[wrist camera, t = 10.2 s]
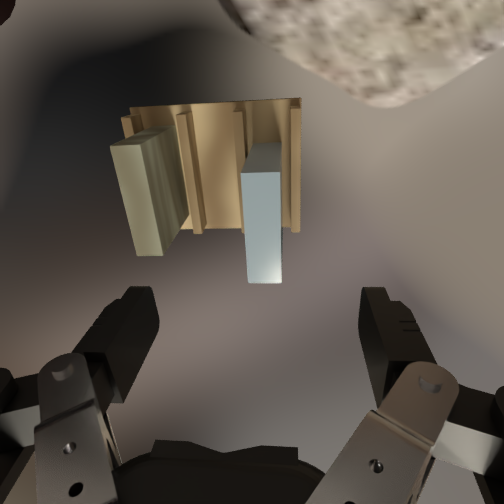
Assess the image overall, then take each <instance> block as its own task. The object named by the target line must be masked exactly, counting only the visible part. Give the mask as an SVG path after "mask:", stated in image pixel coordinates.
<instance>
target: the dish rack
mask: <svg viewBox="0 0 504 504" xmlns="http://www.w3.org/2000/svg"><path fill="white" fill-rule="evenodd" d="M130 112H131V115H129V116H126V117H122V118H121V120H122V125H123V129H124V133H125V138H126V139H124V140H122V141H120V142H117V143H115V144H113V145H111V146H110V149H111V153H112V157H113V161H114V165H115V169H116V173H117V177H118V181H119V185H120V189H121V193H122V197H123V201H124V205H125V209H126V213H127V217H128V221H129V225H130V229H131V233H132V237H133V241H134V245H135V249H136V253H137V256H163V255H164V254H165V252H166V250H167V249H168V247H169V246H170V244H171V243H172V241H173V239H174V238H175V236H176V235H177V233H178V232H179V230H180V229H193V231H194V234H202V233H203V231H204V229H208V228H242V233H245V230H244V216H243V201H242V187H241V171H242V168H243V166H244V164H245V161H246V159H247V156H248V154H249V152H250V149H251V147H252V144H253V143H273V142H282V214H283V227H291V232H300V194H301V190H300V188H301V182H300V181H301V98H285V99H267V100H249V101H232V102H214V103H197V104H178V105H161V106H142V107H131V108H130Z"/></svg>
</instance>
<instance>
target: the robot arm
mask: <svg viewBox="0 0 504 504" xmlns="http://www.w3.org/2000/svg"><path fill="white" fill-rule="evenodd" d="M158 330H159V315H158V311H157V307H156V302H155V298H154V294H153V291H152V288H151V287H150V286H130V287H129V288H128V289H127V291H126V292H125V293H124V295H123V296H122V298H121V299H116V300H114V301H113V302H112V303H110V304H109V305H108V306H106V307H105V308H104V310H103V311H102V312H101V314H100V315H99V317H98V318H97V319H96V320H95V322H94V323H93V326H91V327H90V329H89V330H88V331H87V332H86V334H85V335H84V336H83V338H82V339H81V340H80V342H79V343H78V344H77V346H76V347H75V348H74V350H73V351H72V352H71V353H67V354H64V355H60V356H58V357H56V358H54V359H52V360H51V361H49V362H48V363H47V364H46V365H45V366H44V367H43V368H42V369H41V370H40V372H39V373H37V374H33V375H29V376H24V377H20V378H16V379H14V378H13V376H12V374H11V372H10V371H9V370H8V369H6V368H0V504H3V502H4V501H5V499H6V497H7V496H8V494H9V492H10V491H11V489H12V487H13V486H14V484H15V482H16V481H17V479H18V477H19V476H20V474H21V472H22V471H23V469H24V467H25V466H26V464H27V462H28V461H29V459H30V457H31V456H32V454H33V452H34V451H35V464H36V465H35V466H36V485H37V504H417V502H418V500H419V497H420V495H421V493H422V491H423V488H424V486H425V484H426V482H427V479H428V477H429V475H430V473H431V470H432V468H433V466H434V464H435V461H436V459H440V460H443V461H446V462H449V463H451V464H454V465H457V466H460V467H463V468H465V469H468V470H471V471H473V473H474V476H475V479H476V481H477V484H478V486H479V489H480V492H481V494H482V497H483V499H484V502H485V504H504V386H502V387H500V388H499V389H498V390H497V391H496V394H495V395H493V394H489V393H485V392H482V391H478V390H475V389H471V388H468V387H465V386H463V385H460V384H458V382H457V380H456V379H455V377H454V376H453V375H452V374H451V373H450V372H449V371H447V370H446V369H444V368H443V367H441V366H439V365H437V363H436V361H435V359H434V356H433V354H432V352H431V350H430V348H429V346H428V344H427V342H426V340H425V338H424V336H423V334H422V332H420V328H419V326H418V324H417V323H416V320H415V318H414V316H413V314H412V312H411V310H410V309H409V308H407V307H406V306H405V305H404V304H403V303H402V302H401V301H390V299H389V296H388V294H387V292H386V289H385V288H384V287H363V288H362V291H361V299H360V309H359V318H358V330H359V338H360V342H361V346H362V350H363V353H364V358H365V362H366V365H367V369H368V373H369V377H370V381H371V385H372V389H373V393H374V397H375V401H376V405H377V409H378V410H377V411H376V412H375V411H374V410H370V411H369V412H368V413H367V414H366V416H365V417H364V419H363V420H362V422H361V423H360V425H359V426H358V427H357V429H356V430H355V432H354V433H353V435H352V436H351V438H350V439H349V441H348V443H347V444H346V445H345V447H344V448H343V450H342V451H341V453H340V454H339V455H338V457H337V458H336V460H335V461H334V463H333V464H332V466H331V467H330V468H329V470H328V471H327V473H326V474H325V473H324V472H323V471H321V470H319V469H318V468H316V467H315V466H313V465H311V464H309V463H306V462H304V461H301V460H298V448H297V447H280V446H279V447H278V446H257V447H252V448H247V449H242V450H237V451H232V452H227V453H221V452H218V451H215V450H212V449H209V448H206V447H203V446H200V445H198V444H195V443H192V442H188V441H169V440H155V442H154V445H153V448H152V451H151V452H149V453H145V454H143V455H139V456H137V457H135V458H133V459H130V460H129V461H127V462H125V463H123V464H122V462H121V459H120V455H119V452H118V448H117V444H116V441H115V437H114V434H113V430H112V427H111V423H110V419H109V416H108V413H107V409H108V407H109V405H110V403H124V401H125V399H126V397H127V395H128V393H129V391H130V389H131V387H132V385H133V383H134V381H135V379H136V376H137V374H138V372H139V370H140V368H141V366H142V364H143V362H144V360H145V358H146V356H147V354H148V352H149V350H150V348H151V346H152V343H153V341H154V340H155V337H156V335H157V333H158Z"/></svg>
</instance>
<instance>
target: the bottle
mask: <svg viewBox="0 0 504 504" xmlns="http://www.w3.org/2000/svg"><path fill="white" fill-rule="evenodd" d="M15 1H16V0H0V25H2V24H3V23H4V22H5V21H6V20H7V19H8V18H9V17H10V16H11V13H12V11H13V9H14V6H15Z"/></svg>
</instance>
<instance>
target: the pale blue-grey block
mask: <svg viewBox="0 0 504 504" xmlns="http://www.w3.org/2000/svg"><path fill="white" fill-rule="evenodd" d="M241 187H242V201H243V216H244V230H245V244H246V259H247V273H248V283H282V239H283V238H282V237H283V214H282V142H273V143H253V144H252V147H251V149H250V152H249V154H248V156H247V159H246V161H245V164H244V166H243V168H242V171H241Z"/></svg>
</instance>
